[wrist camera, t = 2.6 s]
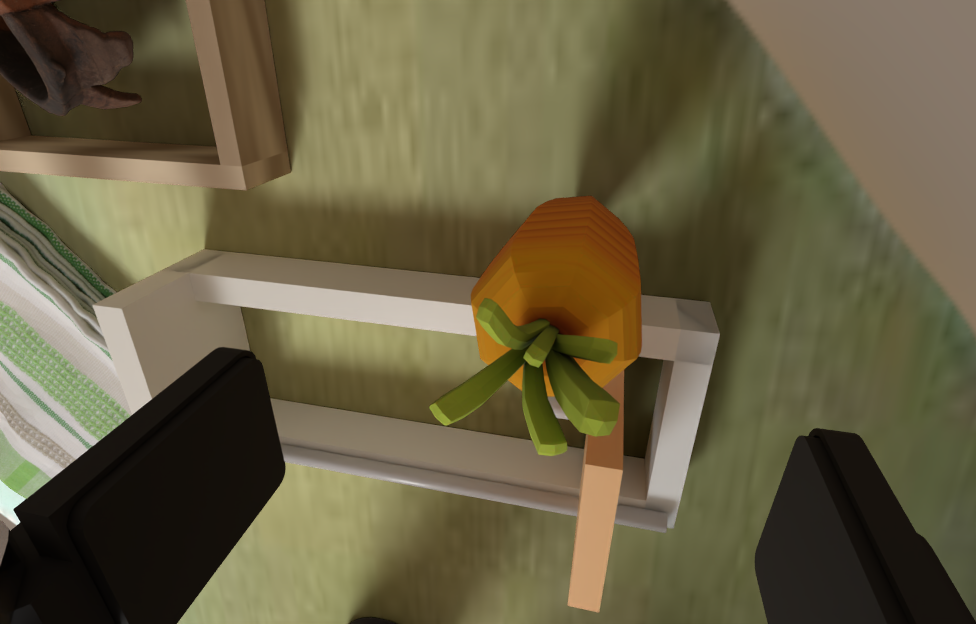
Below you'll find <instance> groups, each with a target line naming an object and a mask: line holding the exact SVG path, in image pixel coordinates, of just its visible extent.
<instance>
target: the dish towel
mask: <svg viewBox="0 0 976 624" xmlns="http://www.w3.org/2000/svg"><path fill="white" fill-rule="evenodd" d="M115 293H117V292H116V291H115V290H114V289H112V288H111V287H110V286H108V285H106V284H105V283H104V282H103V281H102V279H101V278H100V277H99V276H98V275H97V274H96V273H95V272H94V271H93V270H92V269H91V268H90V267H89V266H88V265H87V264H86V263H84V262H83V261H82V260H81V259H80V258H79V257H78V256H77V255H76V254H74V253H73V252H72V251H71V250H70V249H69V248H68V247H66V246H65V244H64V243H63V242H62V241H61V240H60V239H59V237H58V236H57V235H56V234H55V232H54V231H53V230H52V229H51V228H50V227H49V226H48V225H47V224H46V223H44V222H43V221H42V220H40V219H39V218H37V217H36V216H35V215H33V214H32V213H31V212H29V211H28V210H27V209H26V208H25V207H24V206H23V205H22V204H21V203H20V202H19V201H18V200H16V199H15V198H14V197H13V196H12V195H11V194H10V193H9V192H8V191H7V190H6V188H5V187H4V186H3V185H2V183H0V479H1V481H2V482H3V483H5V484H6V485H7V486H8V487H9V488H10V489H12V490H13V491H15V492H16V493H18V494H19V495H21V496H23V497H24V498H26V499H27V498H28V497H29V496H31V495H32V494H33V493H35V492H36V491H37V490H38V489H40V488H41V487H42V486H43V485H45V484H46V483H47V482H48V481H50V480H51V479H52V478H53V477H55V476H56V475H57V474H58V473H60V472H61V471H62V470H63V469H65V468H66V467H67V466H68V465H70V464H71V463H72V462H73V461H75V460H76V459H77V458H79V457H80V456H81V455H82V454H84V453H85V452H86V451H87V450H89V449H90V448H91V447H92V446H94V445H95V444H96V443H97V442H99V441H100V440H101V439H102V438H104V437H105V436H106V435H107V434H109V433H110V432H111V431H112V430H114V429H115V428H116V427H117V426H119V425H120V424H121V423H123V422H124V421H125V420H126V419H128V418H129V417H130V416H131V415H132V413H131V411H130V408H129V405H128V402H127V400H126V397H125V394H124V391H123V389H122V386H121V383H120V380H119V377H118V375H117V372H116V369H115V366H114V364H113V361H112V358H111V355H110V353H109V350H108V347H107V344H106V341H105V339H104V336H103V333H102V330H101V328H100V325H99V322H98V319H97V317H96V314H95V311H94V308H93V306H92V305H93V304H95V303H97V302H99V301H101V300H103V299H105V298H107V297H109V296H111V295H113V294H115Z"/></svg>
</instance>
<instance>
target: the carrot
mask: <svg viewBox="0 0 976 624" xmlns="http://www.w3.org/2000/svg"><path fill="white" fill-rule="evenodd" d="M471 305H472V311H473V317H474V323H475V329H476V335H477V341H478V347H479V353H480V359H481V360H483V361H484V362H485V363H487V364H488V366H487V367H485V368H484V369H483V370H481V371H480V372H478V373H477V374H475V375H474V376H473V377H471V378H470V379H468V380H467V381H466V382H464V383H463V384H461V385H459V386H458V387H456V388H455V389H453V390H451V391H450V392H448V393H446V394H445V395H443V396H442V397H440V398H439V399H438V400H437V401H435V402H434V403H433V404H431V405H430V407H429V408H430V410H431V411H432V413H433V415H434V416H435V418H436V419H438V420H439V421H440V422H441V423H442V424H443V425H444V426H446V425H449V424H452V423H454V422H456V421H458V420H461V419H463V418H464V417H466V416H467V415H469V414H470V413H472V412H473V411H474V410H476V409H477V408H479V407H480V406H482V405H483V404H484V403H485V402H486V401H487V400H488V399H489V398H490V397H491V396H492V395H493V394H494V393H495V392H496V391H497V390H498V389H499V388H500V387H501V386H502V385H503V384H504V383H505V382H506V381H507V380H508V381H510V382H511V383H512V384H514V385H515V386H516V387H517V388H519V389H520V390H521V391H522V407H523V412H524V416H525V419H526V423H527V426H528V429H529V433H530V436H531V438H532V441H533V443H534V446H535V448H536V450H537V453H538V455H545V456H555V455H558V454H562V453H564V452H566V451H567V450H568V449H567V442H566V439H565V437H564V434H563V432H562V430H561V427H560V425H559V422H558V420H557V418H556V416H555V413H554V411H553V409H552V407H551V404H550V402H549V400H548V396H549V397H555V398H556V400H557V402H558V403H559V405H560V407H561V408H562V410H563V412H564V413H565V415H566V416H567V418H568V419H569V420H570V421H571V422H572V424H573V425H574V426H575V427H576V428H577V429H578V431H579V432H581V433H585V434H588V435H592V436H595V437H597V436H606V435H610V434H611V432H612V430H613V428H614V426H615V425H616V423H617V421H618V414H619V407H620V403H619V402H618V401H617V400H615V399H614V398H613V397H612V396H611V395H610V394H609V393H608V392H607V391H605V390H604V389H603V387H604V386H605V385H606V384H607V383H609V382H610V381H611V380H612V379H613V378H615V377H616V376H617V375H618V374H619V373H620V372H622V371H623V370H624V369H625V368H626V367H628V366H629V365H630V364H631V363H632V362H633V361H635V360H636V359H637V358H638V356H639V355H640V353H641V349H642V316H641V279H640V271H639V263H638V256H637V251H636V247H635V242H634V238H633V236H632V235H631V233H630V232H629V230H628V229H627V227H626V226H625V225H624V224H623V223H622V222H621V221H620V220H619V219H618V218H617V217H616V216H615V215H614V214H613V213H611V212H610V211H609V210H608V209H607V208H605V207H604V206H603V205H602V204H601V203H600V202H598V201H597V200H596V199H595V198H594V197H592V196H581V197H569V198H556V199H553V200H550V201H547V202H545V203H543V204H542V205H540V206H538V207H537V208H536V209H535V210H534V211H533V212H532V214H531V215H530V216H529V217H528V218H527V220H526V221H525V222H524V223H523V224H522V225H521V227H520V228H519V229H518V230H517V231H516V233H515V234H514V235H513V236H512V237H511V238H510V240H509V241H508V242H507V243H506V244H505V246H504V247H503V248H502V249H501V251H500V252H499V253H498V254H497V256H496V257H495V258H494V259H493V261H492V262H491V263H490V264H489V266H488V267H487V269H486V270H485V272H484V273H483V275H482V276H481V277H480V279H479V280H478V282H477V283H476V285H475V286H474V288H473V289H472V292H471Z"/></svg>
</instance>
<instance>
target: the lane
mask: <svg viewBox="0 0 976 624" xmlns="http://www.w3.org/2000/svg"><path fill="white" fill-rule="evenodd" d="M479 279H480V278H476V277H466V276H456V275H447V274H437V273H428V272H418V271H408V270H399V269H389V268H380V267H370V266H361V265H351V264H341V263H332V262H322V261H313V260H303V259H293V258H284V257H274V256H265V255H255V254H245V253H236V252H226V251H217V250H207V249H203V250H201V251H199V252H197V253H195V254H193V255H191V256H189V257H187V258H185V259H183V260H181V261H179V262H177V263H175V264H173V265H171V266H169V267H167V268H165V269H163V270H161V271H159V272H157V273H155V274H153V275H151V276H149V277H147V278H145V279H143V280H141V281H139V282H137V283H135V284H133V285H131V286H129V287H127V288H125V289H123V290H121V291H119V292H117V293H115V294H113V295H111V296H109V297H107V298H105V299H103V300H101V301H99V302H97V303H95V304H93V305H92V306H93V308H94V311H95V314H96V317H97V319H98V322H99V325H100V328H101V330H102V333H103V336H104V339H105V341H106V344H107V347H108V350H109V353H110V355H111V358H112V361H113V364H114V366H115V369H116V372H117V375H118V377H119V380H120V383H121V386H122V389H123V391H124V394H125V397H126V400H127V402H128V405H129V408H130V411H131V413H132V415H133V414H134V413H135V412H136V411H138V410H139V409H140V408H141V407H143V406H144V405H145V404H146V403H148V402H149V401H150V400H151V399H153V398H154V397H155V396H156V395H158V394H159V393H160V392H161V391H163V390H164V389H165V388H167V387H168V386H169V385H170V384H172V383H173V382H174V381H175V380H177V379H178V378H179V377H180V376H182V375H183V374H184V373H185V372H187V371H188V370H189V369H190V368H192V367H193V366H194V365H195V364H197V363H198V362H199V361H200V360H202V359H203V358H204V357H205V356H207V355H208V354H209V353H211V352H212V351H213V350H215V349H216V348H218V347H227V348H235V349H242V350H248V351H250V348H249V343H248V339H247V334H246V330H245V325H244V321H243V316H242V312H241V307H240V306H243V307H251V308H259V309H266V310H274V311H282V312H290V313H298V314H306V315H314V316H322V317H330V318H338V319H346V320H354V321H362V322H370V323H377V324H385V325H393V326H401V327H409V328H417V329H425V330H433V331H441V332H449V333H457V334H465V335H473V336H477V335H476V329H475V323H474V317H473V311H472V305H471V292H472V289H473V288H474V286H475V285H476V283H477V282H478V280H479ZM641 316H642V349H641V353H640V355H639V357H647V358H655V359H663V365H662V370H661V376H660V381H659V386H658V392H657V397H656V402H655V407H654V413H653V418H652V423H651V428H650V434H649V439H648V444H647V449H646V455H645V459H643V458H637V457H631V456H624V455H623V473H622V479H621V485H620V491H619V497H618V503H617V509H616V515H615V521H614V523H615V524H620V525H625V526H631V527H636V528H642V529H647V530H652V531H658V532H663V533H666V530H667V527H668V528H674V524H675V520H676V516H677V511H678V507H679V503H680V499H681V495H682V491H683V486H684V482H685V478H686V474H687V470H688V466H689V461H690V457H691V453H692V449H693V445H694V441H695V436H696V432H697V428H698V424H699V420H700V416H701V411H702V407H703V403H704V399H705V395H706V391H707V386H708V382H709V378H710V374H711V370H712V366H713V361H714V357H715V353H716V349H717V345H718V341H719V336H720V332H719V329H718V326H717V322H716V319H715V316H714V313H713V310H712V306H711V303H710V302H706V301H696V300H686V299H677V298H667V297H658V296H648V295H641ZM270 400H271V404H272V409H273V413H274V417H275V422H276V426H277V431H278V435H279V439H280V444H281V448H282V453H283V457H284V461H285V462H288V463H293V464H299V465H304V466H309V467H315V468H320V469H325V470H331V471H336V472H341V473H347V474H352V475H358V476H363V477H368V478H374V479H379V480H384V481H390V482H395V483H400V484H406V485H411V486H416V487H422V488H427V489H433V490H438V491H443V492H449V493H454V494H459V495H465V496H470V497H475V498H481V499H486V500H492V501H497V502H502V503H508V504H513V505H518V506H524V507H529V508H534V509H540V510H545V511H550V512H556V513H561V514H567V515H572V516H577V513H578V504H579V494H580V485H581V475H582V466H583V456H584V449H581V448H575V447H569V446H567V449H568V450H567V451H566V452H564V453H562V454H558V455H555V456H545V455H538V453H537V450H536V448H535V446H534V443H533V441H532V440H526V439H519V438H513V437H507V436H501V435H495V434H488V433H482V432H476V431H470V430H464V429H458V428H451V427H445V426H439V425H433V424H427V423H421V422H414V421H408V420H402V419H396V418H390V417H383V416H377V415H371V414H365V413H359V412H353V411H346V410H340V409H334V408H328V407H322V406H316V405H309V404H303V403H297V402H291V401H285V400H278V399H272V398H270Z"/></svg>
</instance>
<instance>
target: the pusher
mask: <svg viewBox="0 0 976 624" xmlns="http://www.w3.org/2000/svg"><path fill="white" fill-rule="evenodd" d="M603 389H604V390H605V391H607V392H608V393H609V394H610V395H611V396H612V397H613V398H614V399H615V400H617V401H618V402H619V403H620V407H619V414H618V421H617V423H616V425H615V426H614V428H613V430H612V432H611V434H610V435H606V436H597V437H595V436H592V435H588V434H586V439H585V447H584V456H583V466H582V475H581V485H580V494H579V504H578V513H577V522H576V532H575V541H574V551H573V560H572V569H571V579H570V588H569V598H568V606H572V607H576V608H581V609H585V610H590V611H594V612H599V610H600V604H601V598H602V592H603V586H604V581H605V575H606V569H607V563H608V557H609V551H610V545H611V539H612V533H613V527H614V521H615V515H616V509H617V503H618V497H619V491H620V485H621V479H622V473H623V425H624V370H623V371H622V372H620V373H619V374H618V375H617V376H616V377H615V378H613V379H612V380H611V381H610V382H609V383H607V384H606V385H605V386H604V387H603ZM548 400H549V402H550V404H551V407H552V409H553V411H554V413H555V416H556V418H561V419H567V420H569V419H568V418H567V416H566V415H565V413H564V412H563V410H562V408H561V407H560V405H559V403H558V402H557V400H556V398H555V397H549V396H548Z"/></svg>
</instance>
